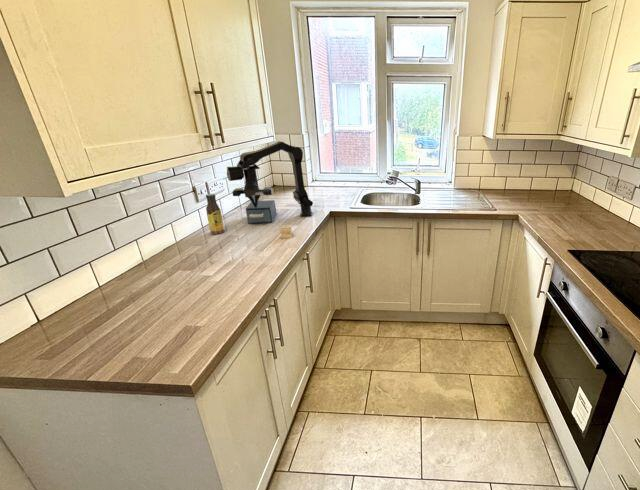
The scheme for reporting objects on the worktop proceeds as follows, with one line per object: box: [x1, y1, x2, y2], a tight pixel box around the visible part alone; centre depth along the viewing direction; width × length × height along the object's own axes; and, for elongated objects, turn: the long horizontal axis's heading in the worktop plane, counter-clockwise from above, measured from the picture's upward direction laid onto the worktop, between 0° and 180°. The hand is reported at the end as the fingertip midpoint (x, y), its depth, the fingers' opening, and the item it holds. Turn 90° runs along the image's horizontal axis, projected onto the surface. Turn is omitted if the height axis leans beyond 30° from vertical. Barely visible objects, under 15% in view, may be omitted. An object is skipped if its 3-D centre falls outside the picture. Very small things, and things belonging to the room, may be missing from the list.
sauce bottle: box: [205, 193, 225, 235], centre depth 157 cm, size 7×6×20 cm
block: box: [280, 226, 293, 239], centre depth 156 cm, size 4×4×4 cm
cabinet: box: [245, 199, 277, 224], centre depth 179 cm, size 15×13×9 cm
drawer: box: [245, 209, 271, 224], centre depth 175 cm, size 18×11×7 cm, turn 11°
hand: (256, 207), depth 167 cm, fingers closed
